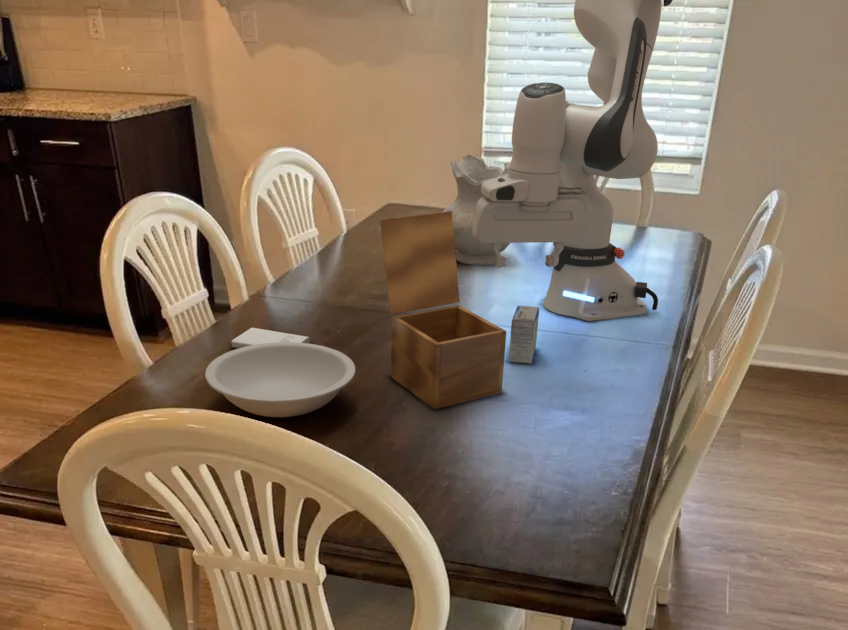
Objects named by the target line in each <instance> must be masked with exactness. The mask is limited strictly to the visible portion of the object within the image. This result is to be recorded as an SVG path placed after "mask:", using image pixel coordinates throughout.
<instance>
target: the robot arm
mask: <svg viewBox="0 0 848 630" xmlns="http://www.w3.org/2000/svg"><path fill="white" fill-rule="evenodd" d="M673 1H674V0H663V2H662V0H575V1H574V5H573V19H574V23H575V25H576V28H577V31H578V32H579V33H580V35H581V36H582V38H584V40H585V41H586V42H587V43H588V44H589V45H591V46H592V47H594V50H593V55H592V58H591V61H590V64H589V68H588V71H587V82H588V83H587V84H588V86H589V89H590V90H591V91H592V92H593V94H594V95H596V96H597V97H598V98H599V100H601V101H603V105H600V106H595V105H587V104H586V105H585V104H578V103H577V104H576V103H573V102H570V101H568V100H567V97H566V96H567V95H566V89H565V87H563V86H562V85H561V84H558V83H555V82H537V83H536V82H534V83H531V84H527V85H526V86H524V87H522V88H521V90H520V92H519V93H518V97H517V101H516V104H515V110H514V115H513V121H512V123H513V124H512V131H511V146H512V156H511V160H510V162H509V164H510V166H509V173H508V174H505V175H503V176H500V177H497V178H494V179H491V180H487V181H485V182H483V183H482V185H481V192H482V194H483V195H484V196H483V197H481V198H480V199H479V201H478V202H477V205H476V208H475V213H474V219H473V226H472V234H473V236H474V238H475V239H476V240H477V241H478V242H479V243H491V247H492V249H493V252H494V254H495V256H496V263H495V267H496V268H498V269H499V268H501V269H502V268H506V267H507V257H506V256H505V255H502V254H501V252H499V250H498V249H501V246H502V243H510V244H514V243H517V244H519V243H520V244H521V243H523V244H526V243H529V244H531V243H532V244H533V243H535V244H536V243H552V245H553V246H554V248H553V249H552V251H551V252H550V254H546V255H545V261H544V264H545V266H546V267H548V268H552V273H551V278H550V282H549V285H548V289H547V292H546V296H545V298H544V299H543V302H542V305H543V307H544V308H545V309H546V310H548V311H550V312H552V313H554V314H558V315H562V316H567V317H573V318H577V319H580V320H583V321H586V322H594V321H601V320H610V319H617V318H618V319H619V318H624V317H634V316H641V315H642V316H643V315H645V314H646V313H647V305H646V303H645V302H644V301H643V300H642V299H646V297H647V294H648V295H649V296H650V297H651V298H652V300H653V303H652V307H651V310H652V311H656V310H657V309H658V303H659V298H658V295H657V294H656V292H654V291H653V290H652V289H650V288H649V287H648V282H643V281H636V280H635V279H634V278H633V276H631V275H630V273H628V271H626V269H625V268H623V267H622V266H621V265H620V264H619V263H618V262H617V261H616V259H619V260H621V259H623V258H624V257H625V255H626V252H625V250H624V249H622V248H621V247H619V246H618V247H617V246H615V245H614V244H612V243H611V242H610V241H611V235H612V227H613V219H614V213H615V212H614V207H613V204H612V202H611V200H610V199H609V198H608V197H607V196H606V195H604V193H603V192H601V190H600V189H599V188H598V185H597V183H596V180H595V176H596V177H602V178H608V179H616V180H627V179H639V178H642V177H645V175H646V174H648V172H649V171H650V170H651V168H652V167H653V165H654V164H655V162H656V160H657V155H658V151H659V150H658V149H659V146H658V139H657V135H656V132H655V130H654V129H653V127H651V126H650V124H649V122H648V121H647V119H646V116H645V114H644V109H643V100H642V99H643V89H644V84H645V80H646V76H647V72H648V68H649V65H650V61H651V58H652V55H653V52H654V48H655V45H656V41H657V36H658V33H659V27H660V23H661V22H660V21H661V15H662V5H663V7H668V6H670V5H671V3H672V2H673ZM662 3H663V4H662Z"/></svg>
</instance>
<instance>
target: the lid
mask: <svg viewBox="0 0 848 630" xmlns="http://www.w3.org/2000/svg"><path fill="white" fill-rule="evenodd" d="M379 225H380V233H381V243H382V250H383V251H382V252H383V259H384V268H385V277H386V287H387V297H388V305H389V313H390V315H396V314H401V313H407V312H413V311H418V310H423V309H429V308H435V307H441V306H447V305H452V304H459V303H461V301H460V300H461V299H460V290H459V278H458V277H459V276H458V268H457V265H458V264H457V260H456V254H457V253H456V250H455V242H454V231H453V219H452V211H448V212H443V211H441V212H431V213H423V214H414V215H405V216H398V217H397V216H396V217H389V218H388V217H387V218H380V219H379Z"/></svg>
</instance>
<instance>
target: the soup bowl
mask: <svg viewBox="0 0 848 630" xmlns="http://www.w3.org/2000/svg"><path fill="white" fill-rule="evenodd" d="M204 372H205V373H204V377H205V381H206V382H207V384H208V385H209V386H210V387H211V389H213V390H214V391H216V392H217V393H219V394H221V395H223V396H224V397H225V398H226V400H228V401H229V402H230V403H231V404H233V405H234V406H236V407H237V408H239V409H240V410H243V411H245V412H247V413H250V414H253V415H256V416H261V417H266V418H267V417H268V418H290V417H291V418H292V417H297V416H302V415H306V414H309V413H313V412H314V411H316V410H318V409H320V408H322V407H324V406H326V405H327V404H328V403H330V402H332V400H333V399H334V398H336V396H338V394H339V393H340V391H341V390H342V389H343V388H345V387H346V386H348V385H349V384H350V383H351V382H352V381H353V379H354V377H355V375H356V365H355V362H354V361H353V360H352V359H351V358H350V357H349V356H348V355H346V354H344V353H343V352H341V351H339V350H337V349H334V348H331V347H328V346H324V345H319V344H314V343H309V344H308V343H298V342H275V343H264V344H257V345H251V346H246V347H242V348H239V349H238V348H234V349H232V350H230V351H227V352H225V353H223V354H221V355H219V356H218V357H216V358H214V359H213V360H212V361H211V362H210V363H209V364H208V365H207V366H206V369H205V371H204Z"/></svg>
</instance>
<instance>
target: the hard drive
mask: <svg viewBox="0 0 848 630" xmlns="http://www.w3.org/2000/svg"><path fill="white" fill-rule="evenodd" d="M310 339H311V337H310V336H306V335H300V334H294V333H287V332H281V331H275V330H269V329H263V328H257V327H250V328H248V329H247V330H245V331H244V332H242V333H241V334H239V335H238V336H236V337H235V338H233V339H232V340H231V348H233V349H239V348H242V347H246V346H251V345H257V344H264V343H275V342H298V343H308V344H311V343H310V342H311V340H310Z"/></svg>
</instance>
